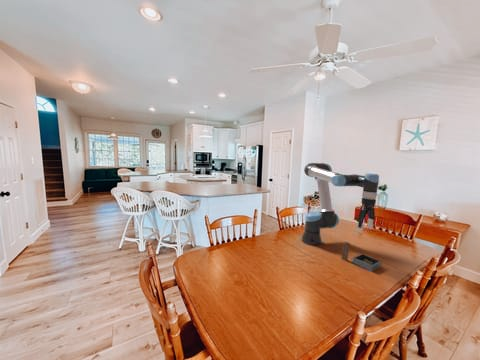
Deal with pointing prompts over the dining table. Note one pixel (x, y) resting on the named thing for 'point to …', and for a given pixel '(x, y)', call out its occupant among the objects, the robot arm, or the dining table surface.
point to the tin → (367, 262)
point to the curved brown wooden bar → (345, 250)
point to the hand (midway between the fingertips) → (364, 230)
